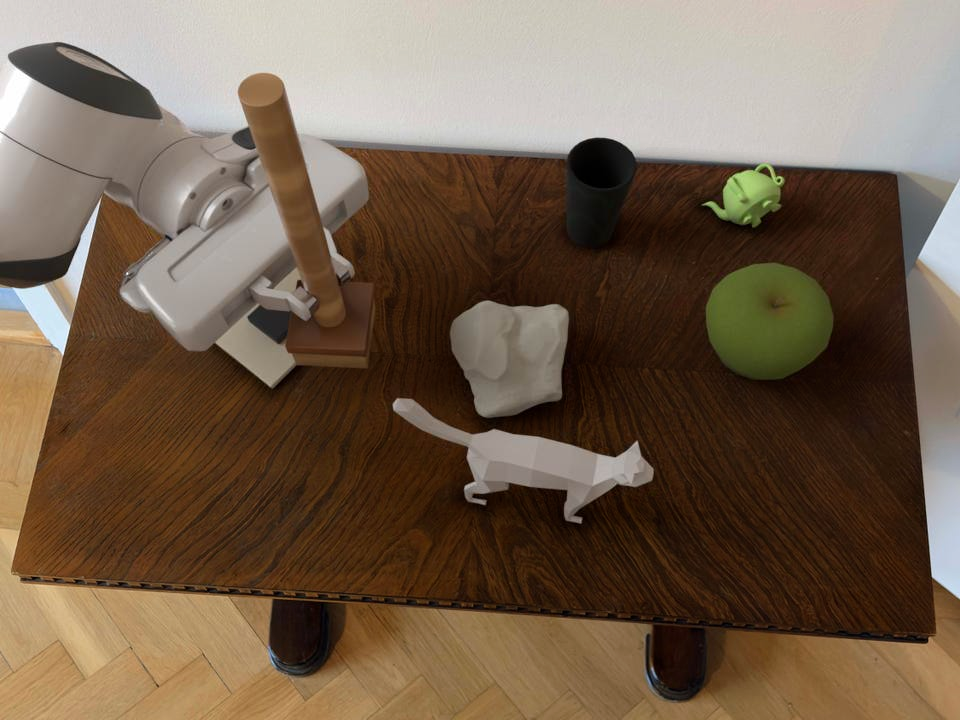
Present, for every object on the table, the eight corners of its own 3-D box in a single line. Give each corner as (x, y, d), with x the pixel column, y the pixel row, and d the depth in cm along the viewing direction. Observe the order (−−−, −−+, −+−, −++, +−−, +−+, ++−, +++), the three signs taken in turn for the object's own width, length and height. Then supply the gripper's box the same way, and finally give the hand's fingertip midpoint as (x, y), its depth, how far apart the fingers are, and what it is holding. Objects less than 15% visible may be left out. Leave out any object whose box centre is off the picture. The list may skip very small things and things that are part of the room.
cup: (547, 239, 85) (554, 173, 77) (575, 195, 88) (585, 127, 79) (604, 264, 84) (618, 201, 75) (631, 220, 87) (648, 153, 78)
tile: (272, 389, 78) (271, 386, 77) (191, 324, 81) (189, 321, 80) (354, 309, 82) (353, 306, 81) (273, 250, 85) (272, 247, 84)
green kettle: (750, 184, 89) (766, 147, 84) (781, 221, 86) (799, 185, 81) (701, 206, 87) (714, 169, 82) (730, 244, 85) (746, 208, 80)
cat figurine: (630, 537, 71) (662, 480, 59) (399, 490, 73) (383, 425, 61) (636, 488, 73) (669, 422, 61) (412, 443, 75) (398, 370, 63)
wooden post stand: (369, 370, 70) (309, 135, 46) (293, 367, 71) (192, 130, 46) (378, 305, 73) (325, 50, 49) (305, 301, 74) (215, 46, 49)
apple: (795, 303, 82) (833, 242, 73) (817, 402, 77) (861, 349, 68) (683, 305, 82) (708, 244, 73) (698, 404, 77) (727, 351, 68)
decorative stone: (475, 435, 74) (448, 333, 69) (462, 389, 82) (436, 295, 78) (595, 402, 74) (575, 298, 70) (570, 359, 82) (550, 264, 78)
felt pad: (278, 345, 79) (276, 339, 78) (249, 322, 80) (246, 316, 79) (308, 316, 80) (307, 311, 80) (279, 294, 82) (276, 288, 81)
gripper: (90, 264, 62) (219, 368, 58) (286, 103, 70) (413, 186, 66) (122, 308, 68) (242, 406, 64) (301, 155, 75) (418, 234, 71)
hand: (330, 293), depth 65 cm, fingers closed on wooden post stand, 2 cm apart
